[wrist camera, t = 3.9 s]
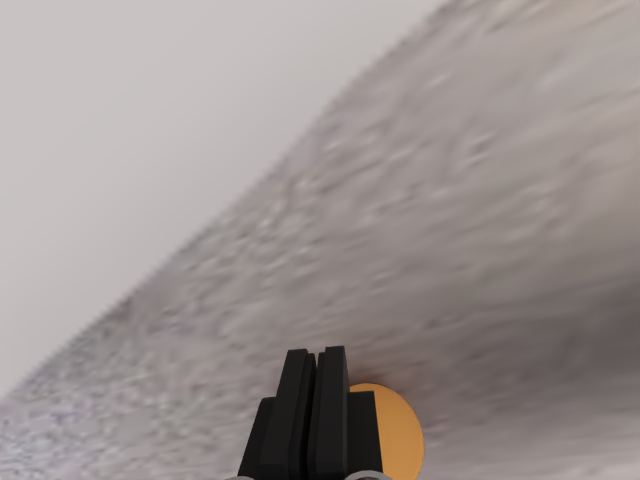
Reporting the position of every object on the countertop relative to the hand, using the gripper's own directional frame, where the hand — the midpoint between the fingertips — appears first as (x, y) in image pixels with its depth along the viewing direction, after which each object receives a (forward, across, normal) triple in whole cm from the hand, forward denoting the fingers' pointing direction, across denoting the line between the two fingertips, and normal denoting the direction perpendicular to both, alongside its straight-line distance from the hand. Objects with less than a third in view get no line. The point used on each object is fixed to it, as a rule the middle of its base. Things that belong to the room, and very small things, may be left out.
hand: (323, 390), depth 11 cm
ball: (+8, -1, +10) cm, 12 cm away
